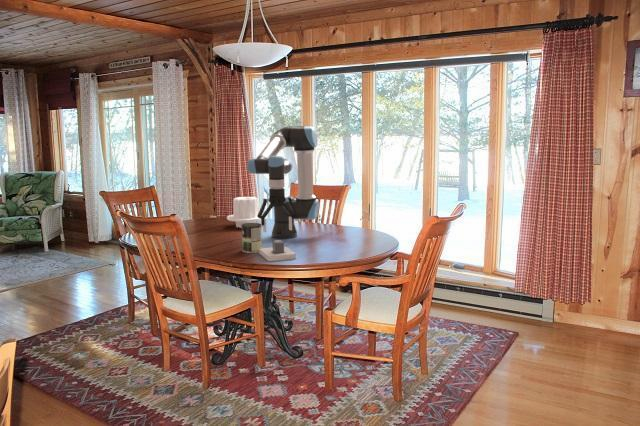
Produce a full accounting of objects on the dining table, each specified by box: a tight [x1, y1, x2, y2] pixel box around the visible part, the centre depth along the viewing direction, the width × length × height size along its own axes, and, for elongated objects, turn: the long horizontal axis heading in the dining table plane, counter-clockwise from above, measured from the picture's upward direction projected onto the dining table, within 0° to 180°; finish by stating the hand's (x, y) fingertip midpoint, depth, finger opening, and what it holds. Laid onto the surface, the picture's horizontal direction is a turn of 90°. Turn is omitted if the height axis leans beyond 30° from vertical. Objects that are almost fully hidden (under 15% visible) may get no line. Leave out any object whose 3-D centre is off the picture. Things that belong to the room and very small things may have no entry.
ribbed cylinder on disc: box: [226, 196, 263, 229], centre depth 341 cm, size 25×25×19 cm
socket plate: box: [258, 245, 297, 262], centre depth 262 cm, size 18×14×3 cm
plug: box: [272, 239, 285, 254], centre depth 260 cm, size 4×4×8 cm
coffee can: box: [241, 222, 263, 254], centre depth 273 cm, size 10×10×14 cm
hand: (277, 230), depth 259 cm, fingers open, 12 cm apart
